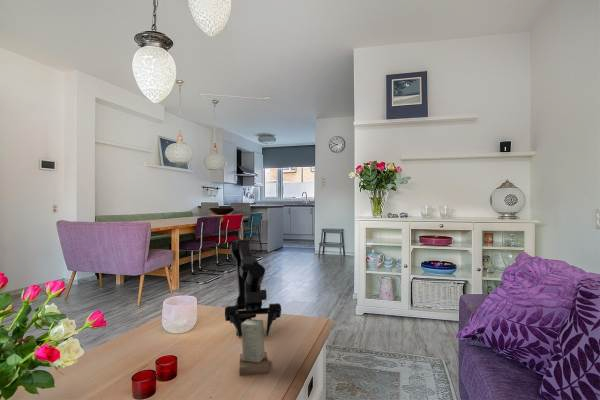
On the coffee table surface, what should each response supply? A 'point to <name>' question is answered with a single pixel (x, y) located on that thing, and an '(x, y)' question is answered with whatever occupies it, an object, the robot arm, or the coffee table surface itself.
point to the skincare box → (253, 340)
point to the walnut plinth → (254, 366)
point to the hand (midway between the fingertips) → (253, 337)
